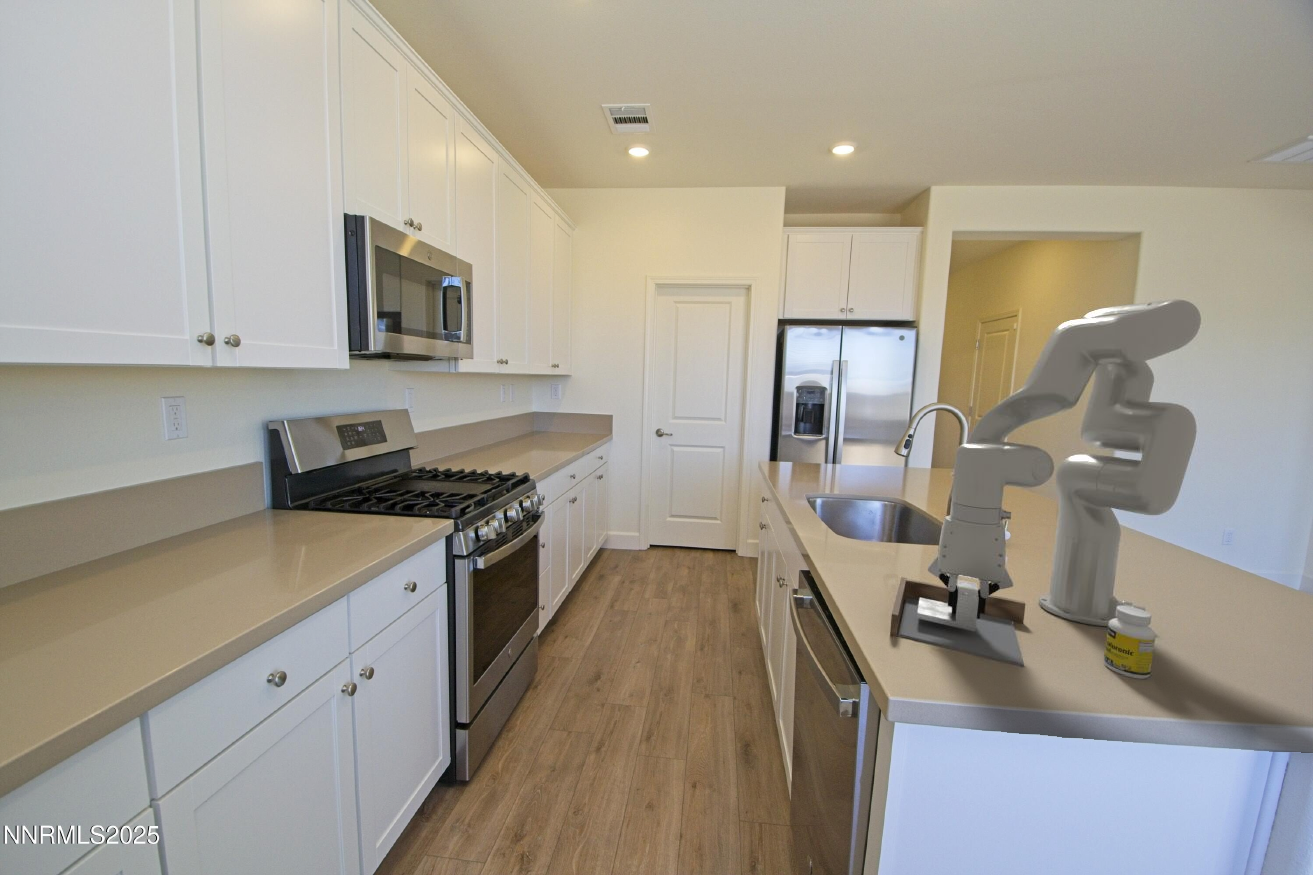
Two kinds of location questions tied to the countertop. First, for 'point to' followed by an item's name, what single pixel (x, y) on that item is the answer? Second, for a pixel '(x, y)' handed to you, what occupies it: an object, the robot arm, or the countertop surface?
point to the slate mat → (965, 635)
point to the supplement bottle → (1130, 643)
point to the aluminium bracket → (943, 612)
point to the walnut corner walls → (940, 593)
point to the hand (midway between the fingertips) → (965, 612)
